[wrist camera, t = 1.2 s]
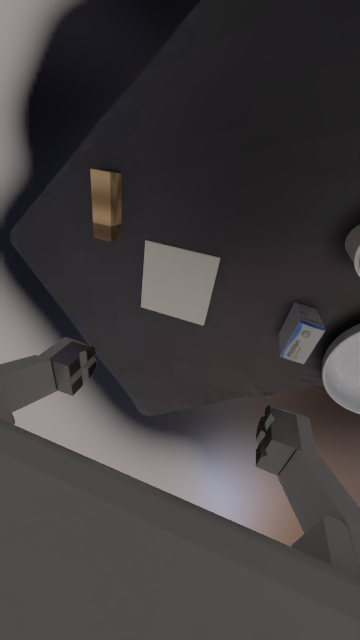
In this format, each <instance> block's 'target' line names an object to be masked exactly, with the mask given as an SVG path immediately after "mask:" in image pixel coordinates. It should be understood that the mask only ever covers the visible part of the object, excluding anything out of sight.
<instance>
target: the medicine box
mask: <svg viewBox="0 0 360 640" xmlns="http://www.w3.org/2000/svg"><path fill="white" fill-rule="evenodd" d="M325 331H326V329H325V327H324V325H323V322H322V320H321V318H320V316H319V313H318V311H317V309H315V308H312V307H309V306H305V305H302V304H299V303H296V302H294V304H293V306H292V308H291V310H290V312H289V314H288V316H287V318H286V320H285V322H284V324H283V326H282V328H281V330H280V332H279V333H278V337H279V349H280V357H283V358H286V359H289V360H292V361H295V362H298V363H301V364H305V362H306V361H307V359H308V357H309V356H310V354H311V353H312V351H313V350H314V348H315V346H316V345H317V343H318V342H319V340H320V339H321V337H322V336H323V334H324V332H325Z"/></svg>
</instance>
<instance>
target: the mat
mask: <svg viewBox="0 0 360 640" xmlns="http://www.w3.org/2000/svg"><path fill="white" fill-rule="evenodd" d="M220 259H221V258H220V257H216V256H212V255H208V254H204V253H199V252H195V251H191V250H187V249H183V248H178V247H174V246H170V245H166V244H162V243H157V242H153V241H149V240H145V253H144V269H143V284H142V299H141V307H142V308H146V309H149V310H153V311H156V312H159V313H163V314H166V315H169V316H173V317H176V318H179V319H183V320H186V321H189V322H193V323H196V324H199V325H203V326H204V323H205V319H206V315H207V311H208V307H209V303H210V299H211V295H212V291H213V287H214V283H215V279H216V275H217V271H218V267H219V263H220Z"/></svg>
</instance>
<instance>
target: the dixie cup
mask: <svg viewBox="0 0 360 640" xmlns="http://www.w3.org/2000/svg"><path fill="white" fill-rule="evenodd" d="M345 249H346V251H347V253H348V255H349V256H350V258H351V260H352V262H353V263H354V267H355V270H356V272H357V274H358V275H359V277H360V225H358V226H356V227H355V228H354V229H353V230H352V231H351V232H350V233H349V234H348V236H347V238H346V240H345Z"/></svg>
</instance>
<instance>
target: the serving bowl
mask: <svg viewBox="0 0 360 640" xmlns="http://www.w3.org/2000/svg"><path fill="white" fill-rule="evenodd" d="M322 380H323V384H324V387H325V389H326V391H327V392H328V394H329V395H330V396H331V398H332V399H333V400H334V401H336V402H337V403H338V404H340V405H341V406H343V407H344V408H346V409H348V410H350V411H352V412H355V413H358V414H360V324H358V325H356V326H354V327H352V328H350V329H348V330H346V331H345V332H343V333H342V334H341V335H339V336H338V337H337V338H336V339H335V340H334V341H333V342H332V343H331V345H330V346H329V347H328V349H327V351H326V353H325V355H324V358H323V362H322Z"/></svg>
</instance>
